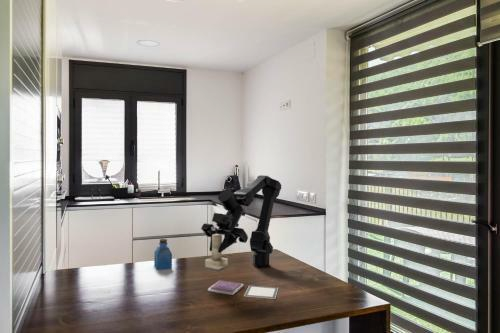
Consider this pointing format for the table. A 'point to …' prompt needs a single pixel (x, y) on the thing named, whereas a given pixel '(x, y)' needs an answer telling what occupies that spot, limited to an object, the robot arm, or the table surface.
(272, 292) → the marked card
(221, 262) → the stamp
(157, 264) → the perfume bottle
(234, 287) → the ink pad
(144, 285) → the table surface
